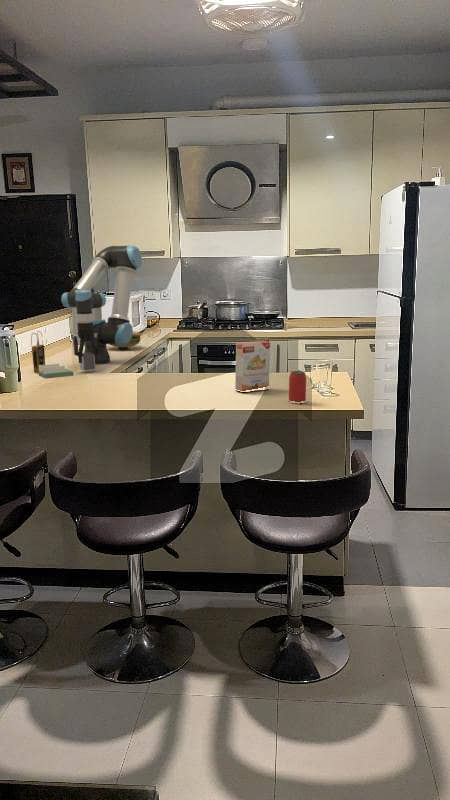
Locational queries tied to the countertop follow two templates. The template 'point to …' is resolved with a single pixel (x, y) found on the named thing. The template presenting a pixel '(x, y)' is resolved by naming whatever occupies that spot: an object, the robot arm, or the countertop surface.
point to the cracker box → (252, 365)
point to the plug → (88, 361)
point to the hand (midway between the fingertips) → (88, 368)
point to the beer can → (297, 386)
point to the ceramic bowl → (132, 342)
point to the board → (53, 371)
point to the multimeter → (38, 355)
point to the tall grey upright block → (96, 316)
